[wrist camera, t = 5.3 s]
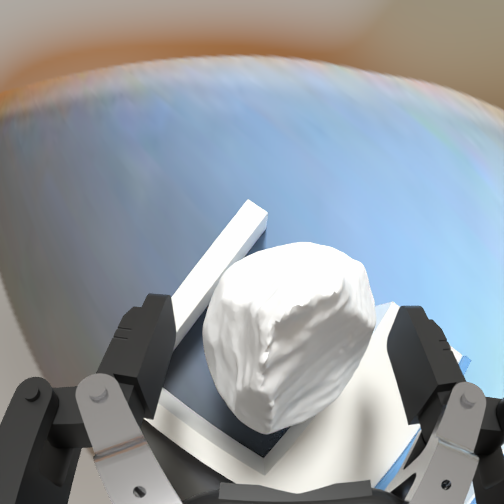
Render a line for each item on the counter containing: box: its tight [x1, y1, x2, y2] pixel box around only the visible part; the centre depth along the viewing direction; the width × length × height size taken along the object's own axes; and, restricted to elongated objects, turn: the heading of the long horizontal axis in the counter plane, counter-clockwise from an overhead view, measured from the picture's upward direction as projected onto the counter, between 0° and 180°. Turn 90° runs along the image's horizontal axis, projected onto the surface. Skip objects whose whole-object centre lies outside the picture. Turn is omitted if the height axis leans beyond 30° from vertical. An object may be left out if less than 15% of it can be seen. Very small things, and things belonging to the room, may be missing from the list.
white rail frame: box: [144, 200, 504, 504], centre depth 14 cm, size 12×23×4 cm, turn 54°
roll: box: [202, 242, 376, 434], centre depth 11 cm, size 6×12×6 cm
